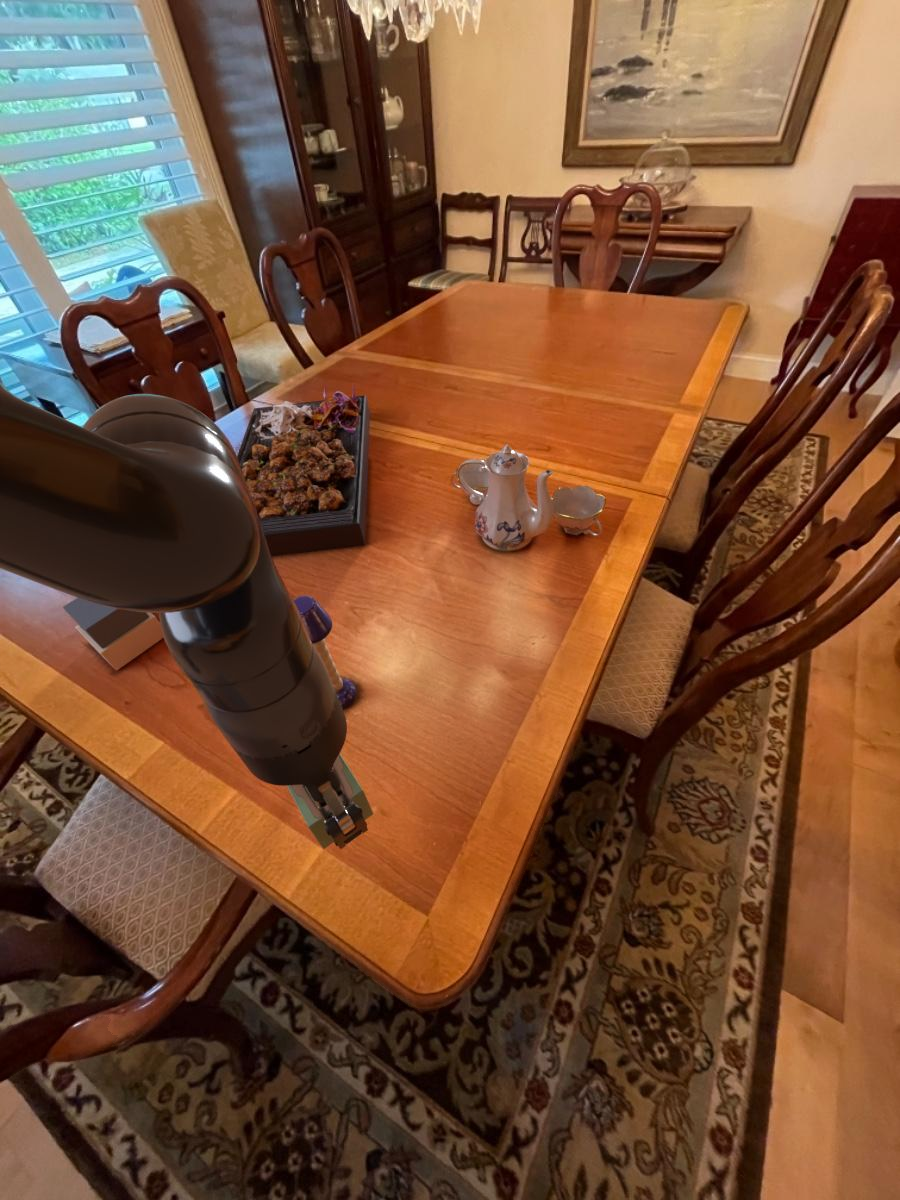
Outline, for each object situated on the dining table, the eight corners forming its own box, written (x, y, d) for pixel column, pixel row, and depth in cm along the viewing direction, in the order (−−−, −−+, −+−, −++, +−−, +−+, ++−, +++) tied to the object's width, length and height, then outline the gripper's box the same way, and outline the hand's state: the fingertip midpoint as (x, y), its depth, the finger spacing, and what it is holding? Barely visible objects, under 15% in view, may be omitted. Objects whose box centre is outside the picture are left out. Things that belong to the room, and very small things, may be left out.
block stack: (116, 671, 74) (83, 634, 68) (90, 644, 78) (56, 607, 72) (168, 634, 78) (140, 596, 72) (141, 611, 82) (112, 573, 76)
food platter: (260, 426, 119) (243, 381, 112) (370, 414, 119) (360, 367, 112) (216, 562, 88) (189, 512, 81) (364, 545, 88) (351, 493, 81)
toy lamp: (313, 703, 67) (270, 615, 55) (332, 674, 70) (295, 584, 58) (346, 713, 66) (309, 626, 54) (364, 684, 69) (333, 594, 57)
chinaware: (612, 524, 89) (632, 428, 78) (580, 581, 78) (598, 479, 67) (463, 488, 99) (461, 399, 88) (417, 534, 89) (408, 439, 78)
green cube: (323, 849, 46) (308, 827, 42) (299, 804, 49) (283, 779, 45) (373, 814, 48) (363, 790, 44) (347, 772, 51) (335, 746, 47)
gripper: (190, 664, 39) (266, 772, 51) (266, 825, 30) (334, 907, 42) (286, 615, 41) (336, 728, 53) (380, 749, 33) (413, 847, 45)
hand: (335, 807), depth 48 cm, fingers closed on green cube, 5 cm apart
